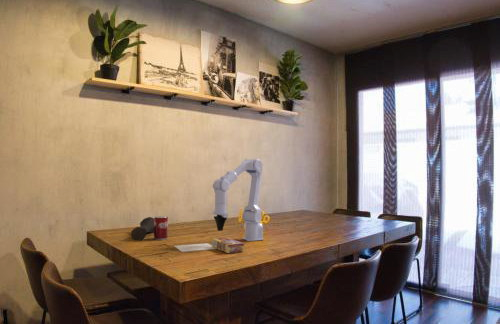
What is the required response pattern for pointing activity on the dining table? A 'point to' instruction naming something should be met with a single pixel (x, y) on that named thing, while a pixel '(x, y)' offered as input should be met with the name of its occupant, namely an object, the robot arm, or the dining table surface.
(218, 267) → the dining table surface
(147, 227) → the dark grey dumbbell
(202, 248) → the mat
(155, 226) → the soda can
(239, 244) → the candy box
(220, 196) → the robot arm
